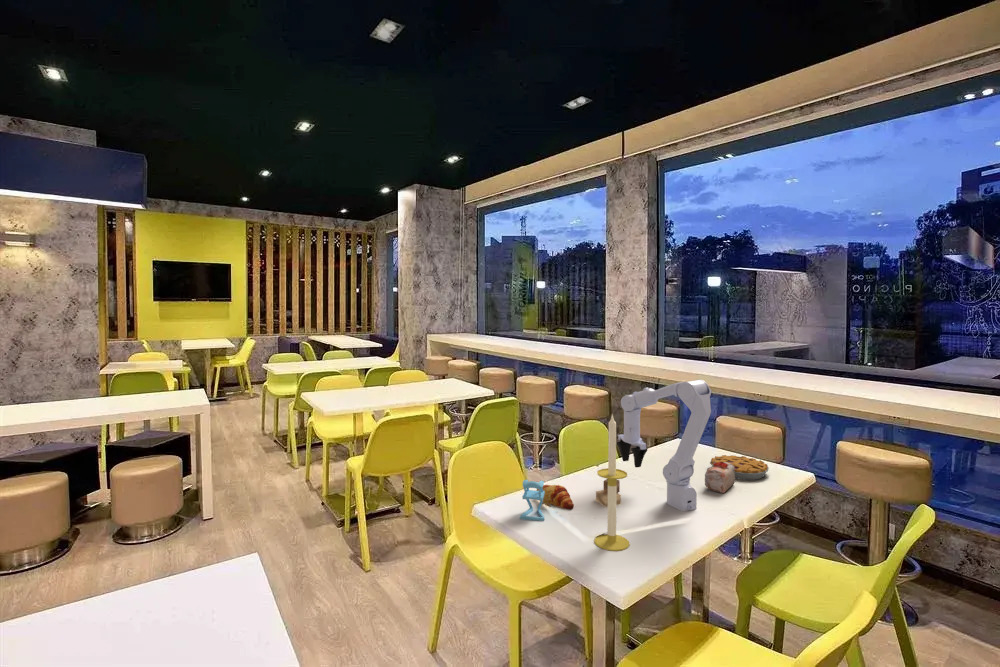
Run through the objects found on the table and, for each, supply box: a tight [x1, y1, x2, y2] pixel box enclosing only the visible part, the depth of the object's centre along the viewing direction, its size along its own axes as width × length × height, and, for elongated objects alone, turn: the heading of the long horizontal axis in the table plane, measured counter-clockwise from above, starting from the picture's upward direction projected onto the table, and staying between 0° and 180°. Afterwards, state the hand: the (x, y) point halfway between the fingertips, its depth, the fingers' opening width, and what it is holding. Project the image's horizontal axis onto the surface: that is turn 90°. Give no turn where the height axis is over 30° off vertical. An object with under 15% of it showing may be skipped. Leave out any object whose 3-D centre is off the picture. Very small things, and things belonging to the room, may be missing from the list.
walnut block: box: [603, 478, 621, 494], centre depth 172 cm, size 4×4×4 cm
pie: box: [709, 454, 770, 481], centre depth 205 cm, size 22×22×5 cm
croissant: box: [536, 484, 575, 510], centre depth 174 cm, size 21×10×8 cm, turn 29°
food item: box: [704, 461, 736, 494], centre depth 188 cm, size 14×8×10 cm, turn 140°
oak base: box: [595, 489, 622, 507], centre depth 171 cm, size 6×6×3 cm
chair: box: [519, 479, 545, 522], centre depth 164 cm, size 8×8×12 cm
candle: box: [593, 413, 630, 552], centre depth 143 cm, size 10×10×38 cm
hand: (631, 463), depth 184 cm, fingers open, 7 cm apart
